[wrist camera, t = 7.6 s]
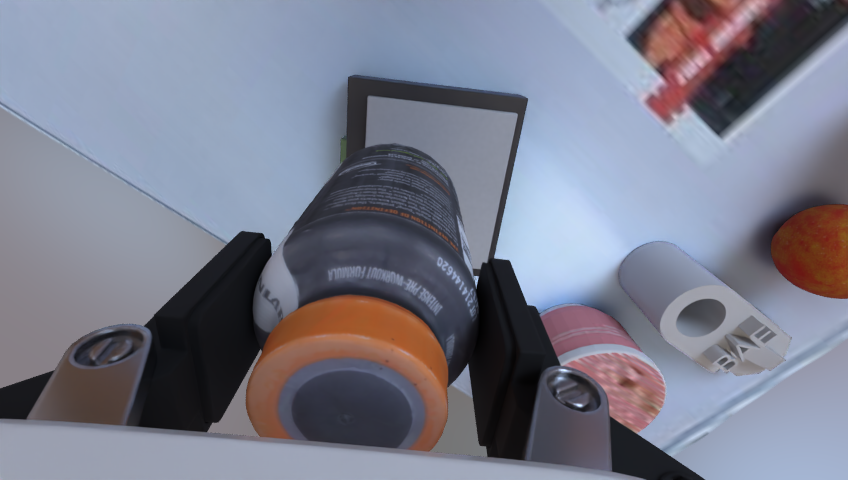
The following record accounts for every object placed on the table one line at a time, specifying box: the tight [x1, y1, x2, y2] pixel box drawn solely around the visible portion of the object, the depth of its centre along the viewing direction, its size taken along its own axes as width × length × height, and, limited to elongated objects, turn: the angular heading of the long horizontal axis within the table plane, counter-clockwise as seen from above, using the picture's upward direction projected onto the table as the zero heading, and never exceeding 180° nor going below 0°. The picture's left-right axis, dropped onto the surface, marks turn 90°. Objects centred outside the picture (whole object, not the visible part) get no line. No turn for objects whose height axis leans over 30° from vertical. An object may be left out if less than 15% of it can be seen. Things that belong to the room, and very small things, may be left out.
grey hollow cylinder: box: [619, 242, 792, 376], centre depth 32 cm, size 6×18×8 cm, turn 55°
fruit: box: [771, 204, 848, 299], centre depth 29 cm, size 7×7×8 cm
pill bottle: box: [246, 143, 480, 452], centre depth 13 cm, size 6×6×11 cm
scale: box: [340, 75, 528, 276], centre depth 30 cm, size 14×12×3 cm
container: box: [539, 303, 666, 433], centre depth 34 cm, size 10×10×8 cm
